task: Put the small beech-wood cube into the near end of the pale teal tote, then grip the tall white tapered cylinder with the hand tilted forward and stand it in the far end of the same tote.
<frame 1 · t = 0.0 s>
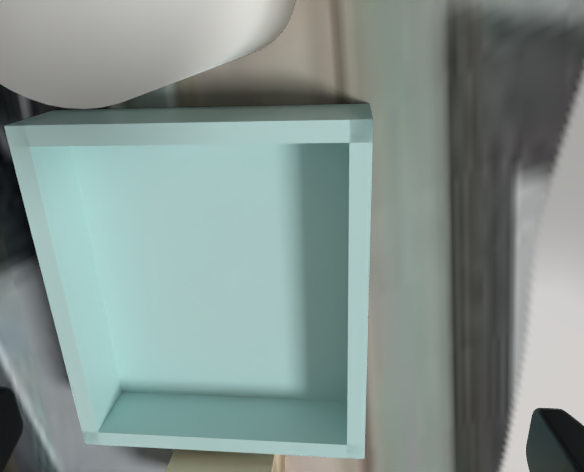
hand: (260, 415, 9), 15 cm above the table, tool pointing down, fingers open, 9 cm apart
tote: (222, 272, 25), on the table
cube: (240, 441, 29), on the table
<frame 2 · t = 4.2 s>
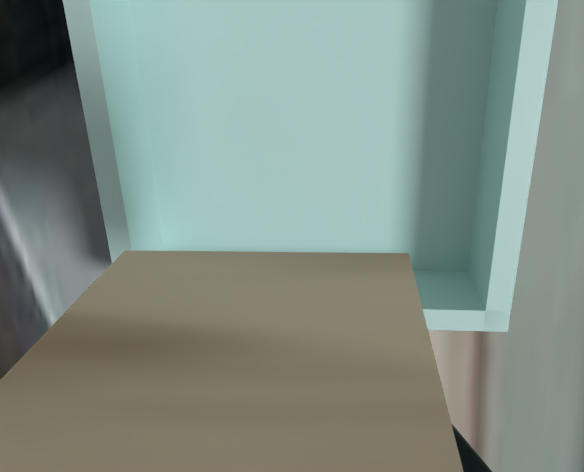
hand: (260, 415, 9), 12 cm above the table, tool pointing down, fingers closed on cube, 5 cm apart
tote: (310, 85, 18), on the table
cube: (269, 369, 10), point 11 cm above the table, touching gripper
when the fingers open (4 cm above the table, at t = 6.1 s): cube drops 2 cm, resting on tote.
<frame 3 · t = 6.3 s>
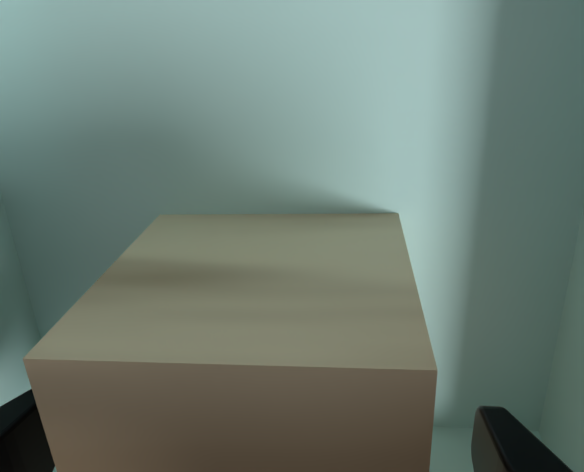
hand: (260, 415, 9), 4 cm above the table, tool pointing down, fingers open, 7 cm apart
tote: (276, 135, 11), on the table
cube: (282, 317, 12), point 1 cm above the table, touching tote
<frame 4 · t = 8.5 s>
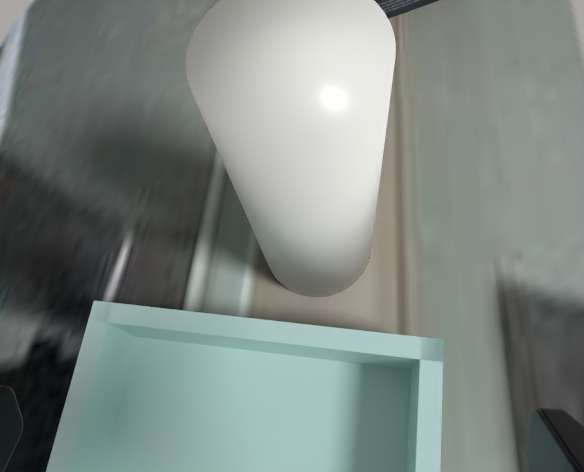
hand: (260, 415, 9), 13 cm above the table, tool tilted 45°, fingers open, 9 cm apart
white tapered cylinder: (317, 245, 24), on the table
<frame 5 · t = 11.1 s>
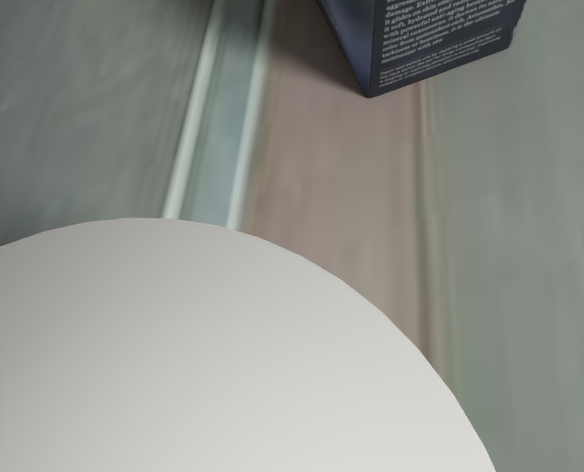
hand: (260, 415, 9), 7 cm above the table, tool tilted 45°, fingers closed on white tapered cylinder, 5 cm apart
when the fingers open (10 cm above the table, at t = 13.8 s): white tapered cylinder drops 2 cm, resting on tote.
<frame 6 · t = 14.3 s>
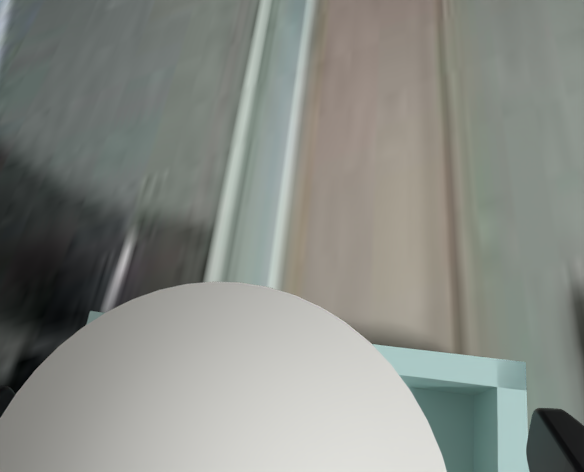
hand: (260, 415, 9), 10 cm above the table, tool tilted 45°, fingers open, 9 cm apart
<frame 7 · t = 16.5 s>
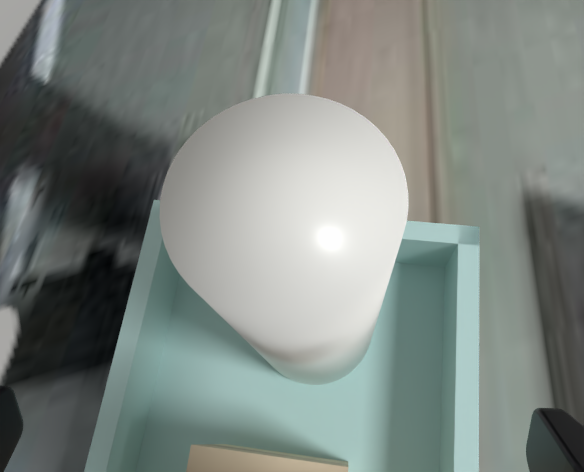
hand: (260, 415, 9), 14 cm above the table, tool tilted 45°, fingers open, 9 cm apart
tote: (292, 414, 22), on the table
white tapered cylinder: (314, 325, 22), point 1 cm above the table, touching tote
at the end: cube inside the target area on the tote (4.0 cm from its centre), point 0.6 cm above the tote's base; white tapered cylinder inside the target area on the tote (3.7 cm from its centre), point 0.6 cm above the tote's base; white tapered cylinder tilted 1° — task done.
